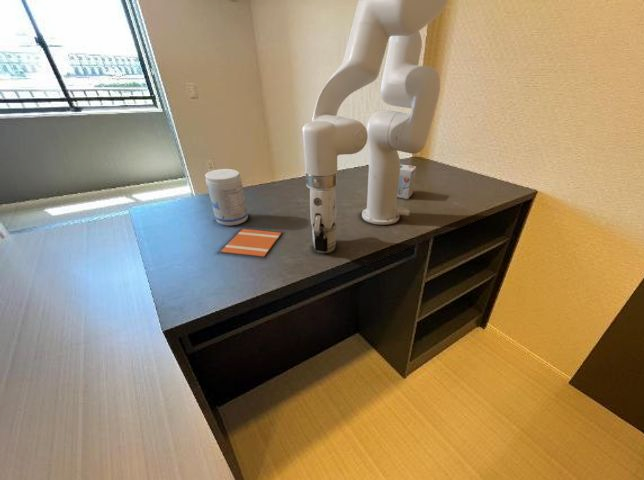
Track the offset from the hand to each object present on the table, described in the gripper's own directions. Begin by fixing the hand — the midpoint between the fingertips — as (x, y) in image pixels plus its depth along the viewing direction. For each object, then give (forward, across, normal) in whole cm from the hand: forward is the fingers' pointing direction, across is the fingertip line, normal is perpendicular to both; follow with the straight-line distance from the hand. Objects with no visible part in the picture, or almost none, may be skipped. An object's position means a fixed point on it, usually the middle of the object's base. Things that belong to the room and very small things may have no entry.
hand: (324, 243), depth 82 cm
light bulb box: (+2, +45, -19) cm, 49 cm away
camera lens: (+2, 0, 0) cm, 2 cm away
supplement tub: (+2, +11, +32) cm, 34 cm away
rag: (+1, -1, +20) cm, 20 cm away
